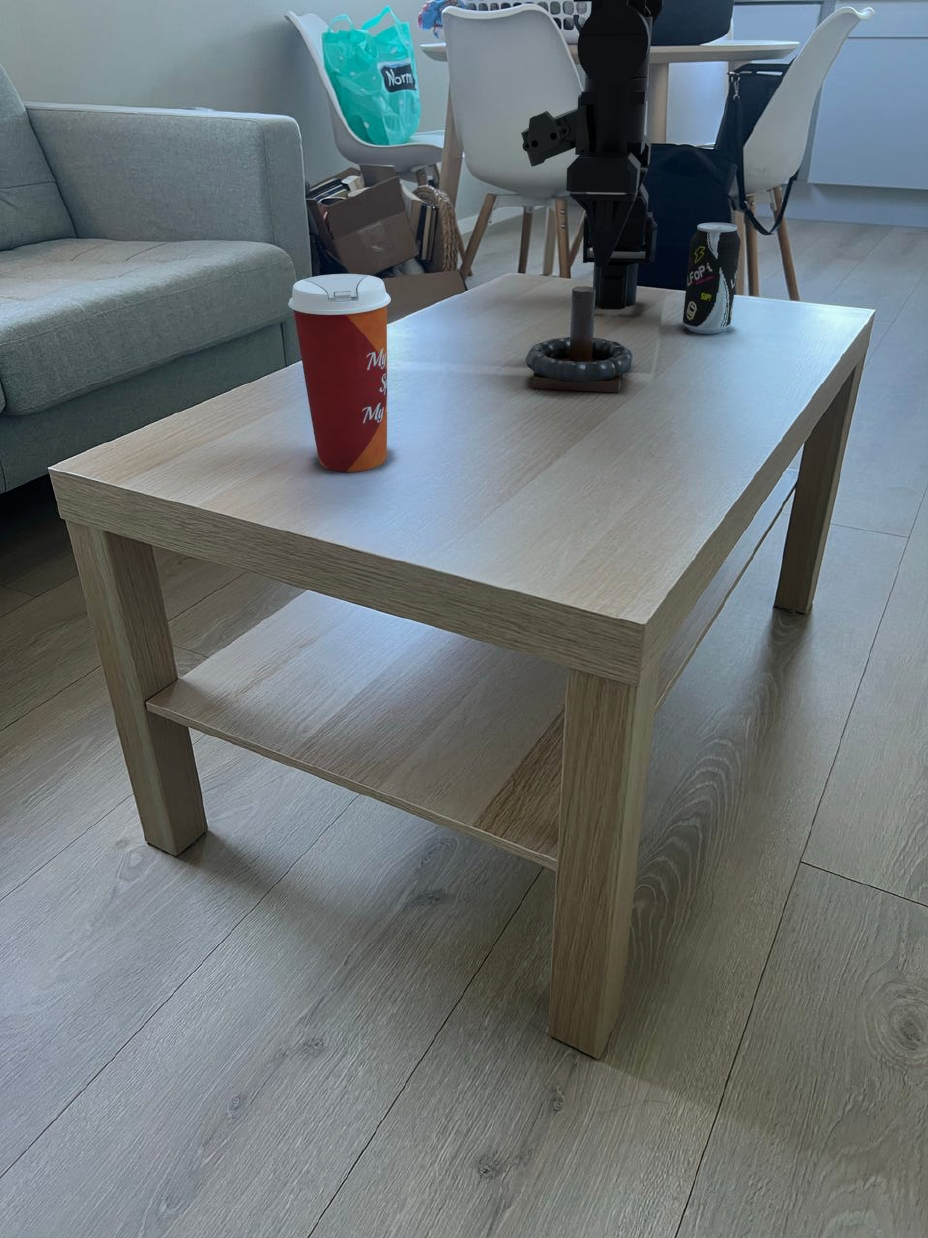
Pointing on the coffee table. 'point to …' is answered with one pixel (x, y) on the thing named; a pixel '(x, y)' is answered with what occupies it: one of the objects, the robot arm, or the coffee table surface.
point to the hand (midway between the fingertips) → (606, 255)
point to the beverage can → (711, 278)
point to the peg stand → (580, 346)
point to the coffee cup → (345, 366)
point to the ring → (579, 371)
